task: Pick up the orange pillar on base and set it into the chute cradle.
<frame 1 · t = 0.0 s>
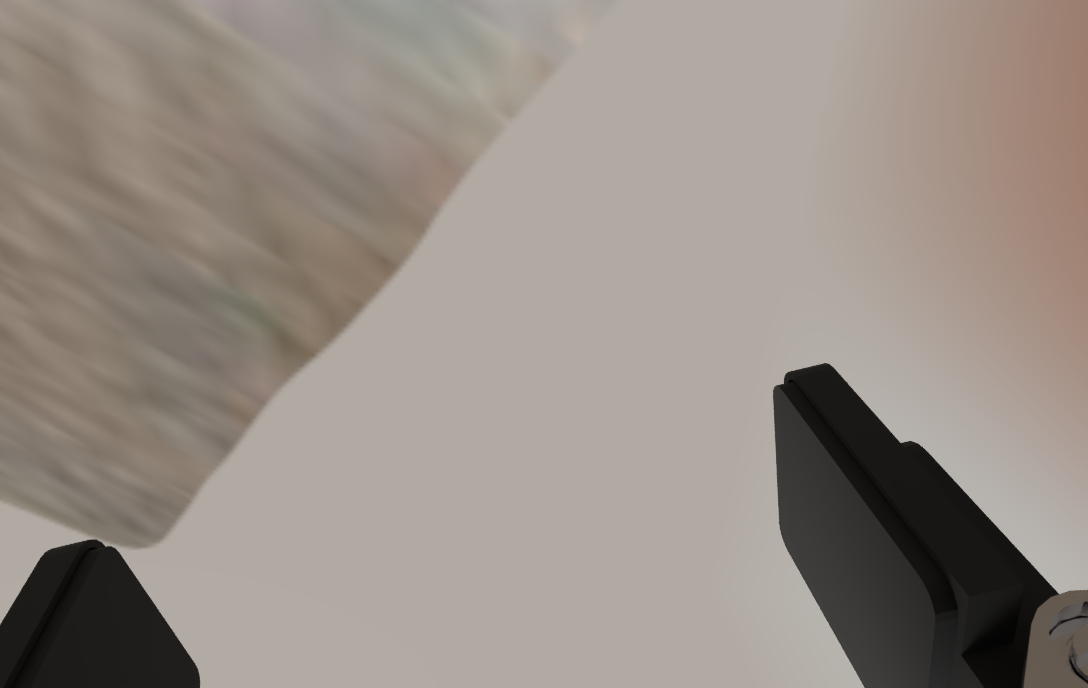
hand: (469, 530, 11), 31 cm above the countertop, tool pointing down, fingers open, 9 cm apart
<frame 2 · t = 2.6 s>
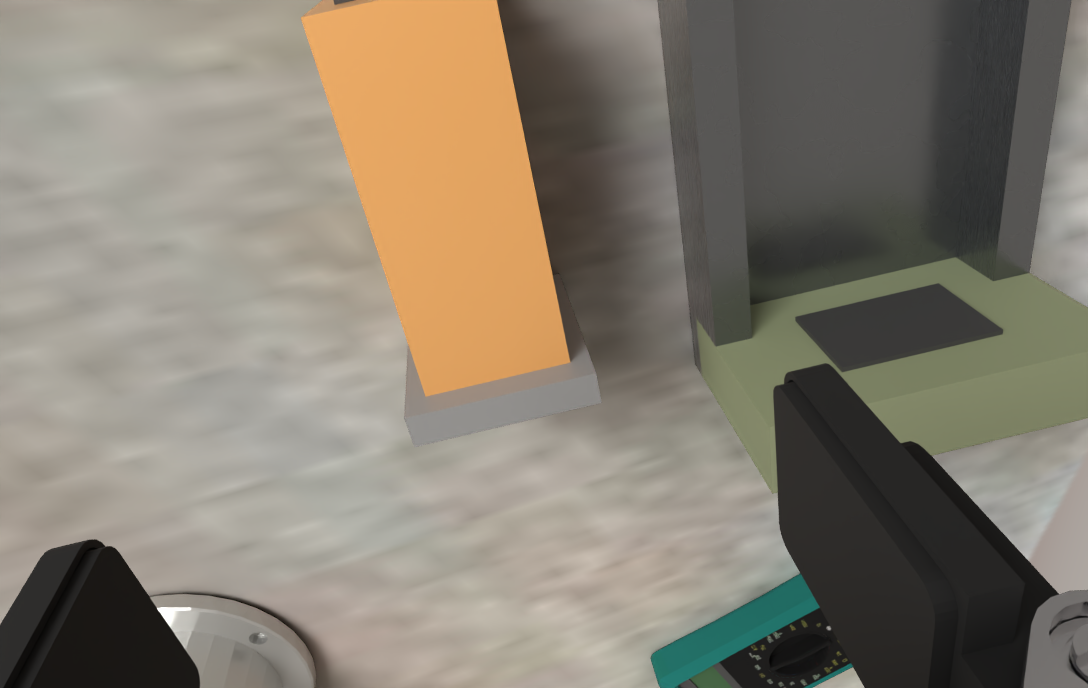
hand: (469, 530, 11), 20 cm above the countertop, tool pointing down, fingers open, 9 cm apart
orange pillar on base: (448, 150, 28), on the countertop
digital multimeter: (773, 620, 45), on the countertop
chute cradle: (833, 89, 29), on the countertop
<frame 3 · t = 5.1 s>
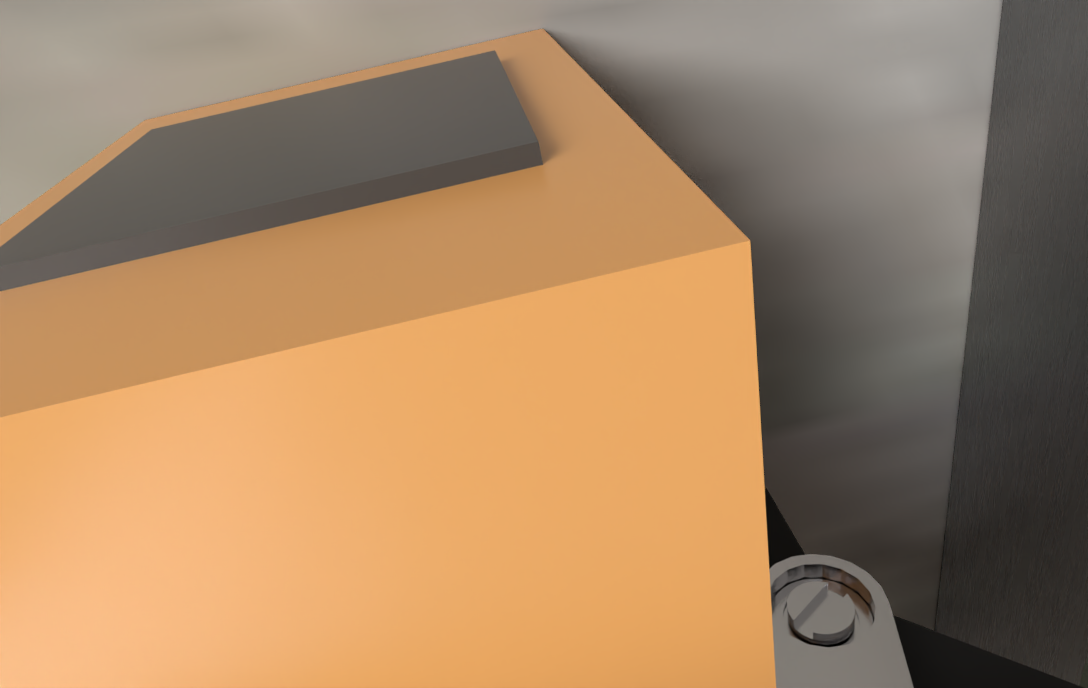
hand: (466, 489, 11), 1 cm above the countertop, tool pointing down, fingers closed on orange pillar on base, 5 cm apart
orange pillar on base: (464, 450, 12), on the countertop, touching gripper
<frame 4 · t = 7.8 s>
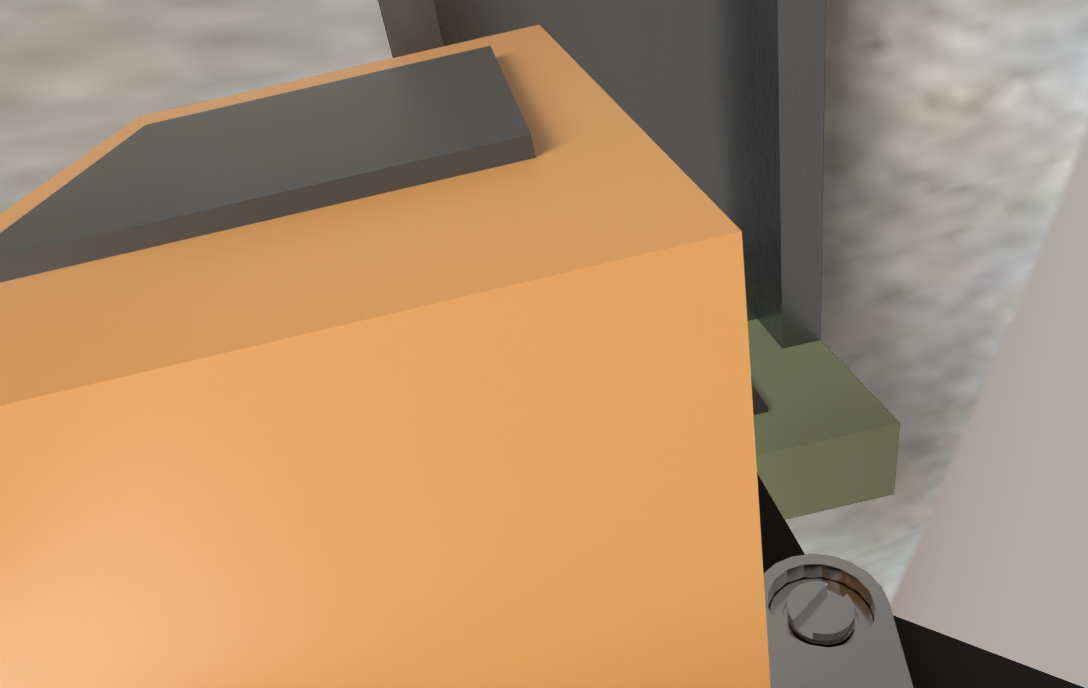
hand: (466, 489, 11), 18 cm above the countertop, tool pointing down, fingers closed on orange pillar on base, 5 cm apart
orange pillar on base: (461, 448, 12), point 17 cm above the countertop, touching gripper
chute cradle: (607, 145, 28), on the countertop
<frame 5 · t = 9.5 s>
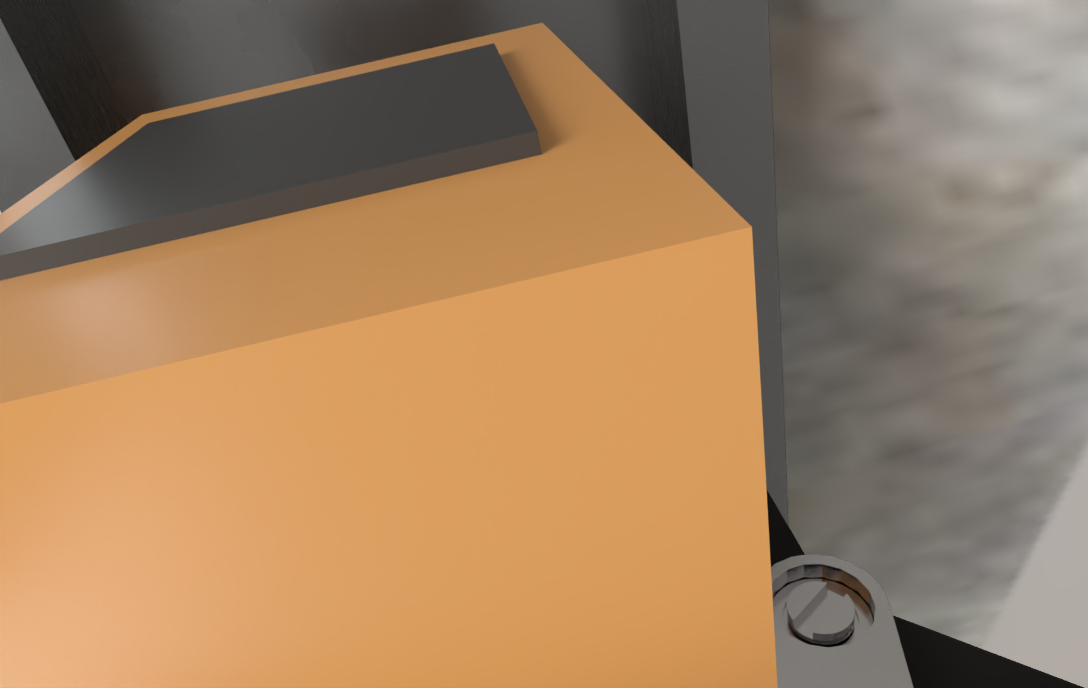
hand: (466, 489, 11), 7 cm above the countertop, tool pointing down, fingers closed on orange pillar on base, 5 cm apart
orange pillar on base: (463, 447, 12), point 6 cm above the countertop, touching gripper
chute cradle: (451, 275, 18), on the countertop
when the fingers open (3 cm above the countertop, at t = 10.8 s): orange pillar on base drops 1 cm, resting on chute cradle.
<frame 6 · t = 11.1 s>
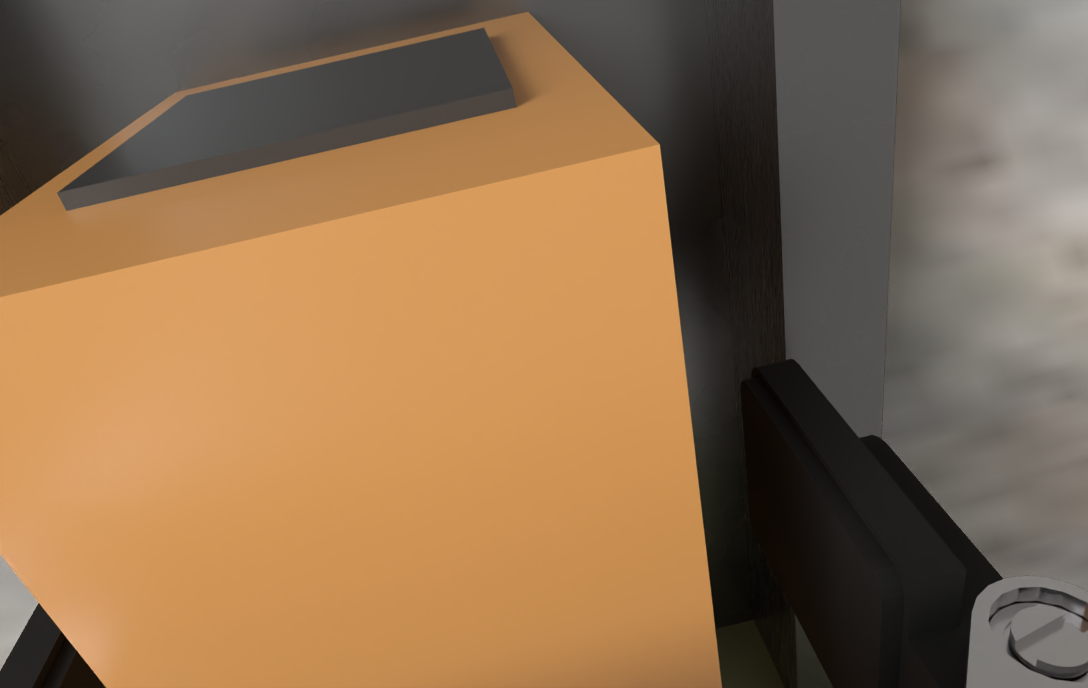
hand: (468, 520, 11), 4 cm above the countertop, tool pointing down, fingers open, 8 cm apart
orange pillar on base: (459, 399, 14), point 1 cm above the countertop, touching chute cradle
chute cradle: (456, 363, 14), on the countertop
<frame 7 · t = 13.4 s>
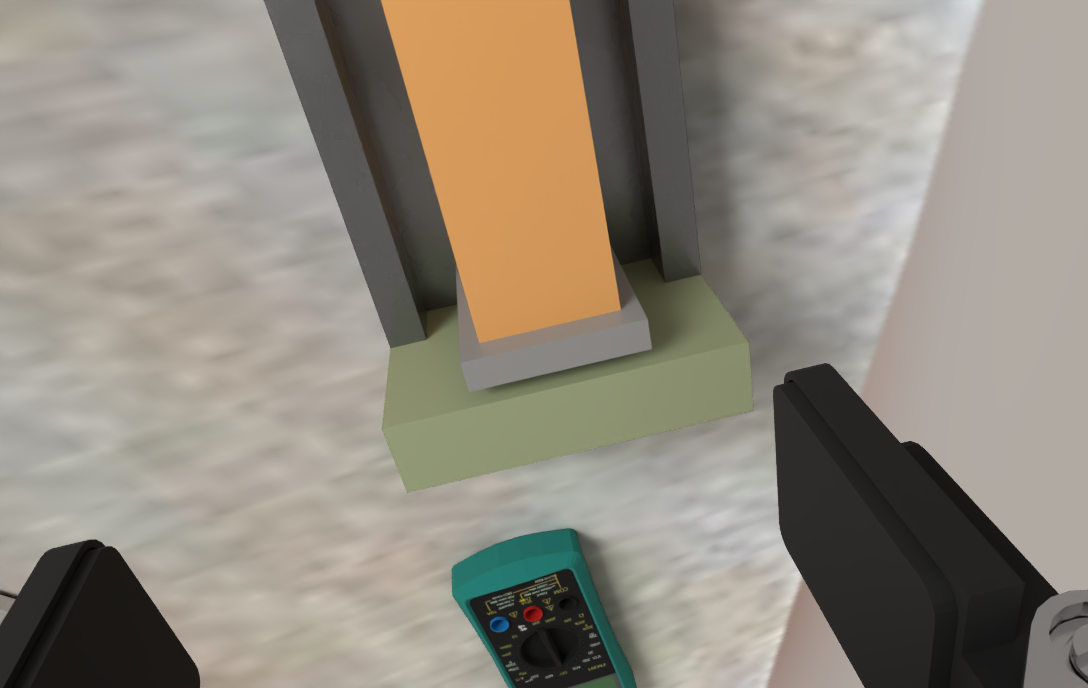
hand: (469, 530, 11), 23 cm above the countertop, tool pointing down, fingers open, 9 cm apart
orange pillar on base: (496, 105, 29), point 1 cm above the countertop, touching chute cradle
digital multimeter: (547, 615, 46), on the countertop
chute cradle: (494, 95, 30), on the countertop
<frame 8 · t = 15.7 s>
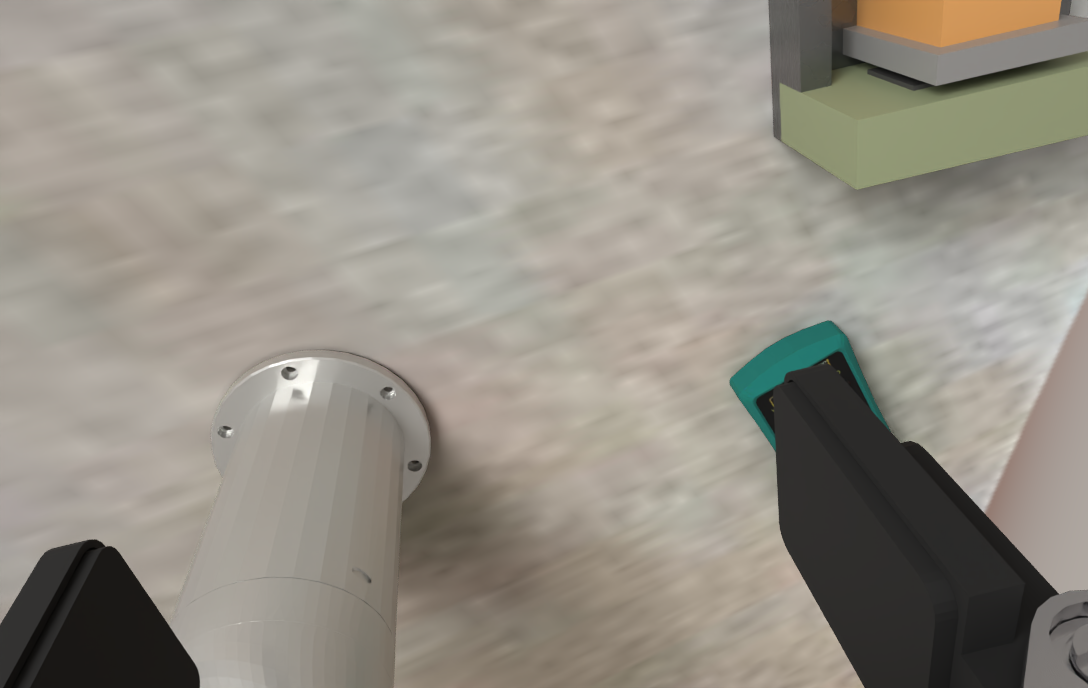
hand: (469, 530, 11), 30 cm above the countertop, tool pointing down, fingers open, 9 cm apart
digital multimeter: (814, 416, 51), on the countertop
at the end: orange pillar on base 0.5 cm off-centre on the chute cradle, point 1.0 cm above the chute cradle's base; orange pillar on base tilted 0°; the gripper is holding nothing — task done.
